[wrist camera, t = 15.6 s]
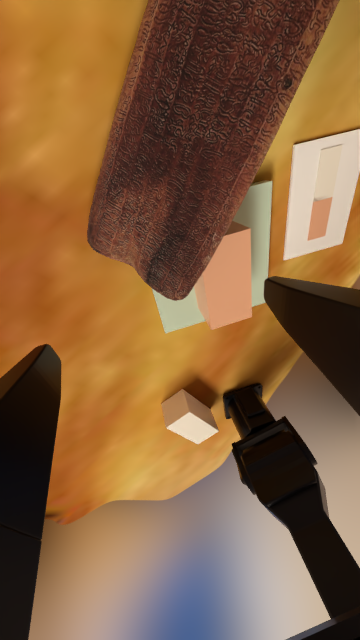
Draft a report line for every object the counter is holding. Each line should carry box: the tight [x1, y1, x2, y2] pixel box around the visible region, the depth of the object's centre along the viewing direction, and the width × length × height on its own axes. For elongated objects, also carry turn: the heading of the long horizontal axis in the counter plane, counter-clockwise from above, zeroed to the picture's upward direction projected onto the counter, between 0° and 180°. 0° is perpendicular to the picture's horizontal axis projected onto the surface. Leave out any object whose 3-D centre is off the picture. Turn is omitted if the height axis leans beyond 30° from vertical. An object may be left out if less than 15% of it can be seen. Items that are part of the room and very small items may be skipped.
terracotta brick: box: [194, 221, 252, 330], centre depth 20 cm, size 8×4×4 cm, turn 12°
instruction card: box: [283, 129, 360, 260], centre depth 22 cm, size 10×7×1 cm
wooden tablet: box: [87, 0, 339, 301], centre depth 12 cm, size 26×2×10 cm
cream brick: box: [161, 389, 219, 444], centre depth 33 cm, size 8×4×4 cm, turn 36°
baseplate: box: [152, 180, 272, 333], centre depth 22 cm, size 12×12×1 cm
